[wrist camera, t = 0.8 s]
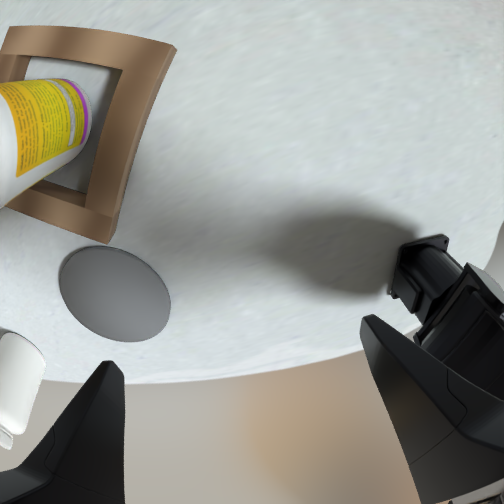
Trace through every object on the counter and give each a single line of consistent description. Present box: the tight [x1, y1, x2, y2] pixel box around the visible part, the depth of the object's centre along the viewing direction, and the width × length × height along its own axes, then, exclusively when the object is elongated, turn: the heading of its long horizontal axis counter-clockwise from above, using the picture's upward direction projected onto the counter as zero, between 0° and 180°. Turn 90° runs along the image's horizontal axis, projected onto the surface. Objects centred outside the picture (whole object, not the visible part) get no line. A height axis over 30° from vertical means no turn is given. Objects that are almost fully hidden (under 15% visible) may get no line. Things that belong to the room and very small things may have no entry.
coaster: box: [60, 246, 170, 342], centre depth 23 cm, size 11×11×1 cm
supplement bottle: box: [0, 79, 92, 209], centre depth 9 cm, size 7×7×13 cm
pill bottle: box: [0, 333, 46, 450], centre depth 20 cm, size 8×8×15 cm
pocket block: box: [0, 26, 177, 244], centre depth 14 cm, size 14×14×2 cm
